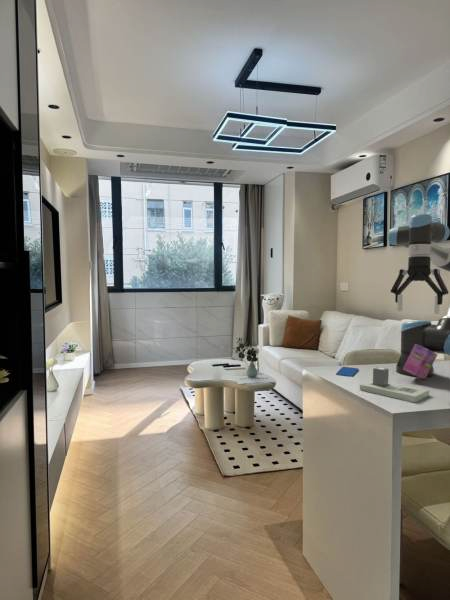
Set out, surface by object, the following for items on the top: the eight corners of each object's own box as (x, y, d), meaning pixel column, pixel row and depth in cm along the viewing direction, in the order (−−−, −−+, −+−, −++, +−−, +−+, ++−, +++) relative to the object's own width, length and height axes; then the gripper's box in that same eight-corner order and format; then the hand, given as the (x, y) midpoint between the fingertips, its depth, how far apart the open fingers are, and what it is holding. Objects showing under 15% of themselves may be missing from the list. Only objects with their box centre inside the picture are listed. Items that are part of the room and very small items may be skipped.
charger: (377, 387, 149) (378, 366, 148) (388, 390, 146) (388, 368, 145) (372, 389, 146) (373, 368, 146) (383, 392, 143) (383, 370, 143)
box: (415, 375, 155) (428, 348, 154) (402, 369, 159) (414, 343, 159) (425, 380, 161) (438, 354, 161) (412, 374, 166) (424, 348, 165)
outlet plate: (375, 384, 154) (375, 378, 154) (429, 395, 139) (429, 389, 139) (359, 389, 146) (359, 384, 146) (415, 402, 131) (415, 396, 131)
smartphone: (335, 374, 169) (342, 366, 182) (335, 376, 169) (342, 368, 182) (353, 376, 165) (359, 368, 179) (353, 378, 166) (358, 370, 179)
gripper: (382, 257, 154) (381, 310, 156) (452, 254, 136) (450, 315, 137) (391, 257, 159) (389, 309, 161) (459, 255, 141) (457, 314, 142)
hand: (417, 312), depth 149 cm, fingers open, 13 cm apart
